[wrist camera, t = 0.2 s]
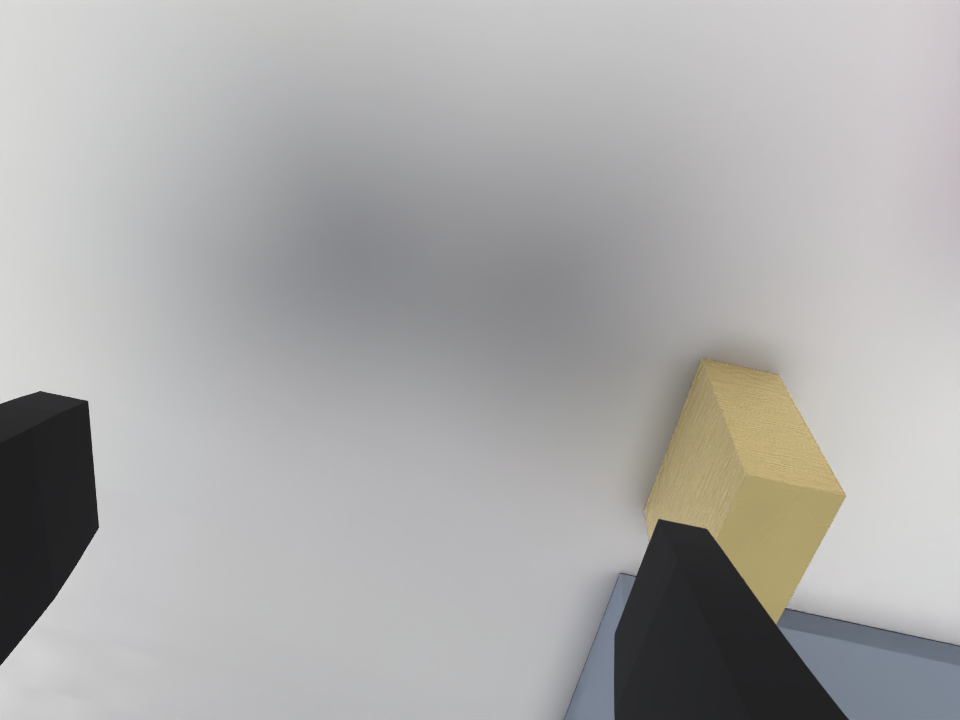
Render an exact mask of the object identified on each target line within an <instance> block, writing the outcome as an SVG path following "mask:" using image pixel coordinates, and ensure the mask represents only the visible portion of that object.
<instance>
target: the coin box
mask: <svg viewBox="0 0 960 720" xmlns="http://www.w3.org/2000/svg"><path fill="white" fill-rule="evenodd" d="M635 579H636V577H634V576H629V575H625V574H620V575H619V578H618V580H617V583H616V586H615V588H614V591H613V593H612V596H611V599H610V601H609V604H608V606H607V609H606V612H605V614H604V617H603V620H602V622H601V625H600V627H599V630H598V633H597V635H596V638H595V640H594V643H593V646H592V648H591V651H590V653H589V656H588V659H587V661H586V664H585V667H584V669H583V672H582V674H581V677H580V680H579V682H578V685H577V687H576V690H575V693H574V695H573V698H572V701H571V703H570V706H569V708H568V711H567V714H566V716H565V719H564V720H615V717H614V634H615V631H616V629H617V626H618V623H619V621H620V618H621V616H622V613H623V610H624V608H625V605H626V602H627V600H628V597H629V595H630V592H631V589H632V587H633V584H634V581H635ZM776 625H777V627H778V628H779V629H780V631H781V632H782V633H783V635H784V636H785V637H786V639H787V640H788V642H789V643H790V644H791V646H792V647H793V648H794V650H795V651H796V652H797V654H798V655H799V656H800V658H801V659H802V660H803V662H804V663H805V664H806V666H807V667H808V668H809V669H810V671H811V672H812V673H813V675H814V676H815V677H816V679H817V680H818V681H819V682H820V684H821V685H822V686H823V688H824V689H825V690H826V691H827V693H828V694H829V695H830V696H831V698H832V699H833V700H834V702H835V703H836V704H837V705H838V707H839V708H840V709H841V710H842V712H843V713H844V714H845V715H846V717H847V718H848V719H849V720H960V647H959V646H955V645H950V644H945V643H941V642H936V641H931V640H927V639H922V638H917V637H913V636H908V635H904V634H899V633H894V632H890V631H885V630H880V629H876V628H871V627H866V626H862V625H857V624H852V623H848V622H843V621H838V620H834V619H829V618H825V617H820V616H815V615H811V614H806V613H801V612H797V611H792V610H787V609H784V611H783V613H782V615H781V617H780V618H779V620H778V622H777V624H776Z"/></svg>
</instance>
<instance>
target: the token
mask: <svg viewBox="0 0 960 720" xmlns="http://www.w3.org/2000/svg"><path fill="white" fill-rule="evenodd" d="M845 497H846V495H845V493H844V491H843V489H842V488H841V486H840V484H839V482H838V481H837V479H836V477H835V475H834V473H833V472H832V470H831V468H830V466H829V464H828V463H827V461H826V459H825V457H824V455H823V454H822V452H821V450H820V448H819V446H818V445H817V443H816V441H815V439H814V438H813V436H812V434H811V432H810V430H809V429H808V427H807V425H806V423H805V421H804V420H803V418H802V416H801V414H800V412H799V411H798V409H797V407H796V405H795V404H794V402H793V400H792V398H791V396H790V395H789V393H788V391H787V389H786V387H785V386H784V384H783V382H782V380H781V378H780V377H779V375H777V374H773V373H768V372H763V371H759V370H754V369H750V368H745V367H740V366H736V365H731V364H727V363H722V362H717V361H713V360H708V359H703V358H702V359H701V362H700V364H699V367H698V369H697V372H696V375H695V377H694V380H693V383H692V385H691V388H690V390H689V393H688V396H687V398H686V401H685V403H684V406H683V409H682V411H681V414H680V417H679V419H678V422H677V424H676V427H675V430H674V432H673V435H672V438H671V440H670V443H669V445H668V448H667V451H666V453H665V456H664V458H663V461H662V464H661V466H660V469H659V472H658V474H657V477H656V479H655V482H654V485H653V487H652V490H651V492H650V495H649V498H648V500H647V503H646V506H645V508H644V511H645V517H646V523H647V529H648V536H649V542H650V539H651V537H652V534H653V532H654V529H655V526H656V524H657V521H658V519H662V520H667V521H672V522H676V523H681V524H686V525H691V526H696V527H701V528H706V529H707V530H708V531H709V532H710V534H711V535H712V536H713V538H714V539H715V540H716V542H717V543H718V544H719V546H720V547H721V548H722V550H723V551H724V553H725V554H726V555H727V557H728V558H729V560H730V561H731V562H732V564H733V565H734V567H735V568H736V569H737V571H738V572H739V574H740V575H741V576H742V578H743V579H744V581H745V582H746V583H747V585H748V586H749V588H750V589H751V591H752V592H753V593H754V595H755V596H756V597H757V599H758V600H759V602H760V603H761V604H762V606H763V607H764V609H765V610H766V611H767V613H768V614H769V616H770V617H771V618H772V620H773V621H774V622H775V624H777V622H778V620H779V618H780V617H781V615H782V613H783V611H784V609H785V607H786V606H787V604H788V602H789V600H790V598H791V596H792V595H793V593H794V591H795V589H796V587H797V585H798V584H799V582H800V580H801V578H802V576H803V574H804V572H805V571H806V569H807V567H808V565H809V563H810V561H811V560H812V558H813V556H814V554H815V552H816V550H817V549H818V547H819V545H820V543H821V541H822V539H823V538H824V536H825V534H826V532H827V530H828V528H829V527H830V525H831V523H832V521H833V519H834V517H835V516H836V514H837V512H838V510H839V508H840V506H841V505H842V503H843V501H844V499H845Z"/></svg>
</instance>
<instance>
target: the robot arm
mask: <svg viewBox="0 0 960 720" xmlns="http://www.w3.org/2000/svg"><path fill="white" fill-rule="evenodd" d="M98 528H99V523H98V511H97V499H96V488H95V476H94V464H93V453H92V441H91V430H90V418H89V406H88V401H85V400H80V399H75V398H71V397H66V396H61V395H56V394H51V393H46V392H42V391H39V392H36V393H33V394H29V395H26V396H23V397H19V398H16V399H13V400H10V401H8V402H5V403H2V404H0V665H1V664H2V663H3V662H4V661H5V659H6V658H7V657H8V656H9V654H10V653H11V652H12V651H13V650H14V648H15V647H16V646H17V645H18V643H19V642H20V641H21V640H22V638H23V637H24V636H25V635H26V634H27V632H28V631H29V630H30V629H31V627H32V626H33V625H34V624H35V622H36V621H37V620H38V619H39V618H40V616H41V615H42V614H43V612H44V611H45V610H46V609H47V607H48V606H49V605H50V604H51V602H52V601H53V600H54V599H55V597H56V596H57V594H58V592H59V591H60V589H61V588H62V586H63V585H64V583H65V582H66V580H67V579H68V577H69V576H70V574H71V572H72V571H73V569H74V568H75V566H76V565H77V563H78V561H79V560H80V558H81V556H82V555H83V553H84V551H85V550H86V548H87V546H88V545H89V543H90V542H91V540H92V538H93V537H94V535H95V533H96V532H97V530H98ZM614 717H615V720H849V719H848V718H847V717H846V715H845V714H844V713H843V712H842V710H841V709H840V708H839V707H838V705H837V704H836V703H835V702H834V700H833V699H832V698H831V696H830V695H829V694H828V693H827V691H826V690H825V689H824V688H823V686H822V685H821V684H820V682H819V681H818V680H817V679H816V677H815V676H814V675H813V673H812V672H811V671H810V669H809V668H808V667H807V666H806V664H805V663H804V662H803V660H802V659H801V658H800V656H799V655H798V654H797V652H796V651H795V650H794V648H793V647H792V646H791V644H790V643H789V642H788V640H787V639H786V637H785V636H784V635H783V633H782V632H781V631H780V629H779V628H778V627H777V625H776V624H775V622H774V621H773V620H772V618H771V617H770V616H769V614H768V613H767V611H766V610H765V609H764V607H763V606H762V604H761V603H760V602H759V600H758V599H757V597H756V596H755V595H754V593H753V592H752V591H751V589H750V588H749V586H748V585H747V583H746V582H745V581H744V579H743V578H742V576H741V575H740V574H739V572H738V571H737V569H736V568H735V567H734V565H733V564H732V562H731V561H730V560H729V558H728V557H727V555H726V554H725V553H724V551H723V550H722V548H721V547H720V546H719V544H718V543H717V542H716V540H715V539H714V538H713V536H712V535H711V534H710V532H709V531H708V530H707V529H706V528H701V527H696V526H691V525H686V524H681V523H676V522H672V521H667V520H662V519H658V521H657V524H656V526H655V529H654V532H653V534H652V537H651V539H650V542H649V545H648V547H647V550H646V553H645V555H644V558H643V560H642V563H641V566H640V568H639V571H638V574H637V576H636V579H635V581H634V584H633V587H632V589H631V592H630V595H629V597H628V600H627V602H626V605H625V608H624V610H623V613H622V616H621V618H620V621H619V623H618V626H617V629H616V631H615V634H614Z"/></svg>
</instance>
